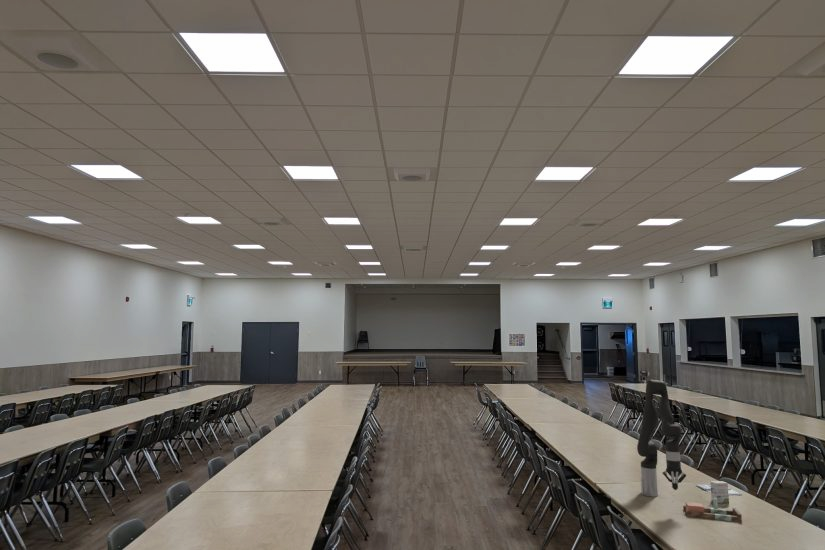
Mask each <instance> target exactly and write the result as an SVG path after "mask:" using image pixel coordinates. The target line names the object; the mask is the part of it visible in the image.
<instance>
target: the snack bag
mask: <svg viewBox="0 0 825 550" xmlns="http://www.w3.org/2000/svg"><path fill="white" fill-rule="evenodd" d="M695 486H696V487H697V488H700V489H702V490H703V491H705V492H708V493H710V494H711V485H710V484H695ZM728 494H729V496H742V493H741V492H737V491H736V490H734V489H732V488H731V487H728Z"/></svg>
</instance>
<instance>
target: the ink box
mask: <svg viewBox="0 0 825 550" xmlns="http://www.w3.org/2000/svg"><path fill="white" fill-rule="evenodd" d="M709 482H710V485H711V493H710V496H711V497H710V498H711V501H712V502H713V498H717V504H719V503H721V504H722V503H724V504H725V503H730V498H729V496H730V495H729V494H728V488H729V483H727V482H725V481H723V480H722V481H721V480H720V481H719V480H718V481H717V480H715V481H714V480H713V481H712V480H711V481H709Z"/></svg>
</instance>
